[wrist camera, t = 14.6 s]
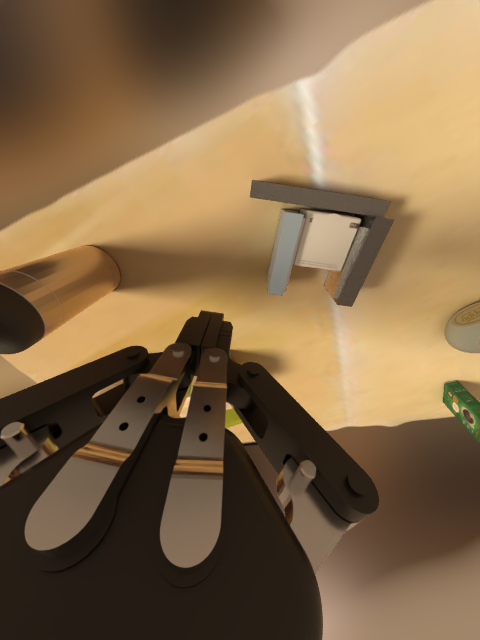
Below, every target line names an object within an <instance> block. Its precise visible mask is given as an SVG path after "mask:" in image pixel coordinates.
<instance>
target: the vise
mask: <svg viewBox="0 0 480 640" xmlns="http://www.w3.org/2000/svg"><path fill="white" fill-rule="evenodd" d="M250 197H251V198H258V199H265V200H271V201H278V202H284V203H291V204H297V205H304V206H311V207H317V208H324V209H330V210H337V211H344V212H350V213H355V214H354V217H357V218H360V219H361V222H360V224H359V227H358V229H357V232H356V234H355V237H354V239H353V241H352V244H351V246H350V249H349V251H348V254H347V256H346V259H345V262H344V264H343V266H342V269H341V271H335V270H330V272H329V274H328V277H327V280H326V282H325V285H324V287H325V288H326V290H327V291H328V292H329V294H330V295H331V297H332V298H333V299H334V301H335V302H336V303H337V305H343V306H350V307H352V305H353V303H354V301H355V299H356V297H357V295H358V293H359V291H360V289H361V287H362V285H363V283H364V281H365V278H366V276H367V274H368V272H369V270H370V268H371V266H372V264H373V262H374V260H375V258H376V256H377V254H378V252H379V250H380V248H381V245H382V243H383V241H384V239H385V237H386V235H387V233H388V231H389V229H390V227H391V225H392V223H393V221H394V220H393V219H388V218H383V217H384V215H385V213H386V211H387V209H388V206H389V204H390V202H391V201H386V200H380V199H373V198H366V197H360V196H353V195H347V194H340V193H334V192H327V191H321V190H314V189H308V188H301V187H294V186H288V185H281V184H275V183H268V182H262V181H255V180H252V185H251V192H250Z"/></svg>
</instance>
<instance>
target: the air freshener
mask: <svg viewBox="0 0 480 640" xmlns="http://www.w3.org/2000/svg"><path fill="white" fill-rule="evenodd" d="M445 338H446V340H447V342H448V343H449V344H450V345H451V346H452V347H454V348H455V349H457V350H460V351H463V352H468V353H480V302H478V303H475V304H472V305H469V306H467V307H465V308H463V309H461V310H460V311H458V312H457V313H456V314H455V315H453V317H452V318H451V319H450V320H449V321H448V323H447V325H446V328H445Z"/></svg>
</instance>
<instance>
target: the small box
mask: <svg viewBox="0 0 480 640" xmlns="http://www.w3.org/2000/svg"><path fill="white" fill-rule="evenodd" d="M300 213H301V214H303V215H304V216H303V218H305V219H306V220H305V223H304V227H303V231H302V234H301V238H300V242H299V245H298V249H297V253H296V256H295V260H294V265H297V266H304V267H311V268H319V269H327V270H335V271H341V269H342V266H343V264H344V262H345V259H346V256H347V254H348V251H349V249H350V246H351V244H352V241H353V239H354V237H355V234H356V232H357V229H358V227H359V224H360V222H361V219H360V218H357V217H353V216H350V215H345V214H339V213H333V212H326V211H319V210H311V209H301V211H300Z"/></svg>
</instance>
